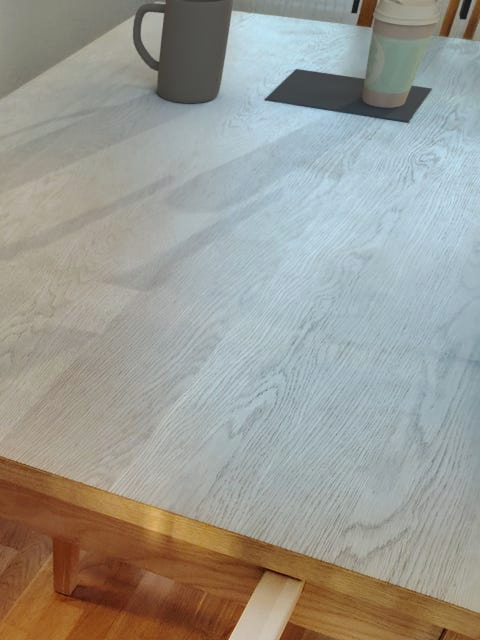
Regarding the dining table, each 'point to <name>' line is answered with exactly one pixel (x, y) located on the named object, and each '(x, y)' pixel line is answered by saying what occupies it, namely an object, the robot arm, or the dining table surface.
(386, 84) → the coffee cup
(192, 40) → the mug
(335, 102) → the placemat
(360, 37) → the dining table surface
